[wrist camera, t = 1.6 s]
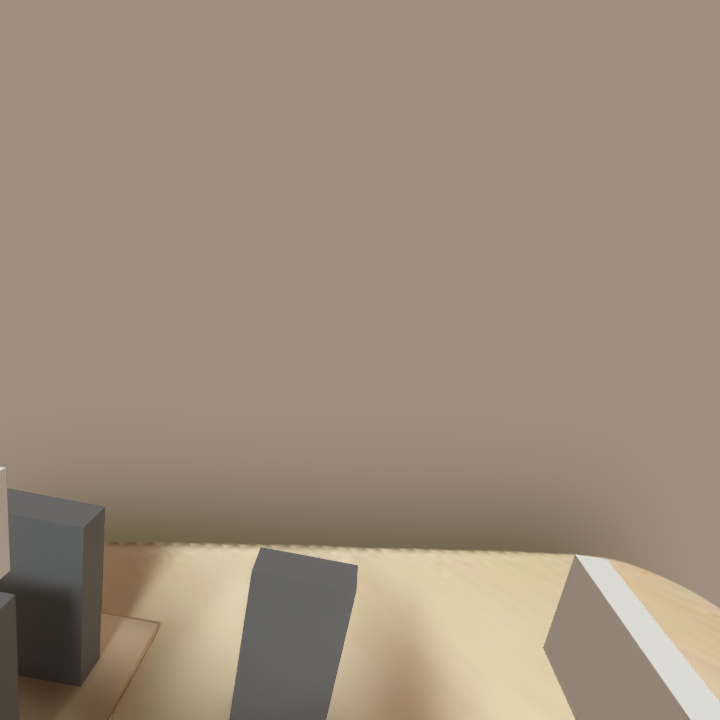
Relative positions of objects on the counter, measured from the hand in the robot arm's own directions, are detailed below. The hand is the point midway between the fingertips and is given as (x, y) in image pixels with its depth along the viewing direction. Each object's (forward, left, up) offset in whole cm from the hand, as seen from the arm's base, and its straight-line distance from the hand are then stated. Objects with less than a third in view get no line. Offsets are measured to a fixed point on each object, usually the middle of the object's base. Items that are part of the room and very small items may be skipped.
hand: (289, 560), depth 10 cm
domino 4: (-10, +12, -18) cm, 24 cm away
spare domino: (+3, +9, -18) cm, 20 cm away
